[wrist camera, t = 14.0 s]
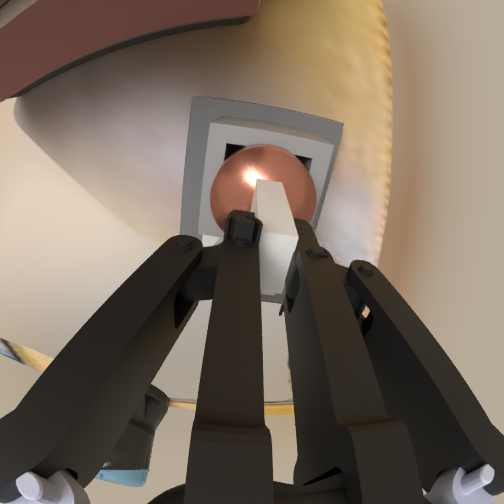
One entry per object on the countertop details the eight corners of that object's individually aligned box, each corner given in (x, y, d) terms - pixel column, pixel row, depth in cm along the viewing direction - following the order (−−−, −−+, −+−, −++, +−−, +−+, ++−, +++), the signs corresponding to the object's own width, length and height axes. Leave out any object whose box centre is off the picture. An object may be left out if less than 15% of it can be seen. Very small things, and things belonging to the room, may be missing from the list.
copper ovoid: (288, 206, 25) (301, 254, 18) (219, 195, 25) (205, 240, 18) (303, 139, 22) (328, 161, 15) (229, 126, 22) (216, 141, 14)
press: (289, 294, 36) (298, 355, 27) (182, 279, 35) (163, 338, 26) (337, 121, 24) (379, 136, 16) (197, 96, 23) (167, 96, 15)
